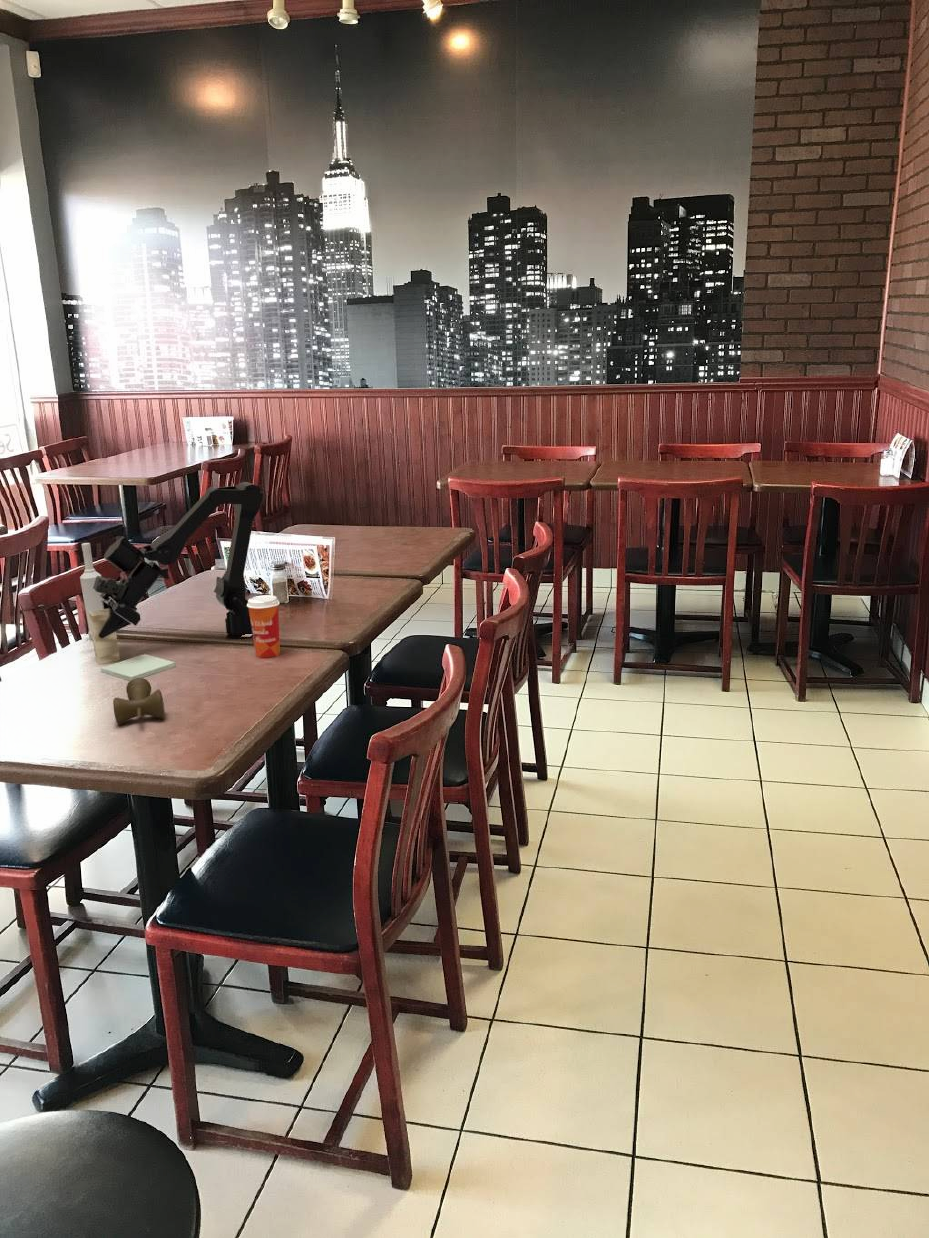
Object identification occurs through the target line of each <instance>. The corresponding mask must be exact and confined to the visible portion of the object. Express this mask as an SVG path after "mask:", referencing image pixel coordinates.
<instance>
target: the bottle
mask: <svg viewBox="0 0 929 1238" xmlns="http://www.w3.org/2000/svg"><path fill="white" fill-rule="evenodd" d="M91 547H92V546H91V543H90V542H83V543H81V549H82V555H83V563H84V568H85V569H84V572H83V573H82V574H81V576H79V579H80V586H81V590H82V596H83V598H82V599H83V602H84V609H85V615H86V622H87V627H88V637H89V640H91V641H93V637H92V630H91V624H90V617H89V612H90V611H96V610H102V609H103V605H102V600H103V601H104V602H105V599H103V598H102V597H101V596H100V595H101V594H102V593H99V592H96V591H95V589H93V586H94V583H95V580H96V577H97V576H100V577H102V574H101V573H99V572H98V571H96V569H95V568H94V563H93V554H92V548H91Z"/></svg>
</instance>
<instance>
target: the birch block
mask: <svg viewBox="0 0 929 1238" xmlns="http://www.w3.org/2000/svg"><path fill="white" fill-rule="evenodd" d="M89 617H90V624H91V630H92V637H93V640H92V642H93V648H94V649H93V650H94V656H95V660H96V662H97V663H98V665H101V664H103V665H104V664H109V663H114V662H120V661H121V658H120V649H119V643H118V637H117V631H115V632H113V633H112V634H110V635H108V636H106V637H104V638H100V637H99V636H98V635H99V633H100V632H101V630H102V628H103V626H104V625H105V623H106V621H107V619H108V618H109V610H108V609H102V610H96V611H90V612H89Z"/></svg>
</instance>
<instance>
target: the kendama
mask: <svg viewBox="0 0 929 1238" xmlns="http://www.w3.org/2000/svg"><path fill="white" fill-rule="evenodd" d="M125 689H126V691H125V693H126V695H127V698H128V699H125V698H120V697H114V698H113V703H112V704H113V705H112V706H113V714H114V719H115V722H116V724H117V725H118V726H121V725H123V724H125V723H126V722H128V721H130V720H131V719H133V718H137V719H141V718H142V716H150V717H155V718H156V719H160V720H164V719H165V714H166V713H165V712H166V711H165V705H164V704H165V703H164V698H163V694H162V691H161V690H160V689H157V690H155V691H153V692H152V685H151V682H149V680H148V679H146V678H145V677H143V678H135V679H132V680H131V681H128V682H127V685H126V687H125Z"/></svg>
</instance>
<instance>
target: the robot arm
mask: <svg viewBox="0 0 929 1238" xmlns="http://www.w3.org/2000/svg"><path fill="white" fill-rule="evenodd" d="M264 496H265V495H264V491H263V490H262V488H261V487H260V486H258V485H257V484H254V483H250V482H248V481H244V482H243V481H242V482H240V483H238V484H237V485H231V486H229V485H228V486H220V487H215V486H214V487H213V486H210V487H209V488H208V489H206V490H205V492H204V494H203V495H202V496H201V497H200V498H199V500H197V501H196V503H195V504H194V505H193V506H192V507H191V508H190V509H189V510H188V511H187V512H186V513H185V515H184V516H183V517H182V518H181V519H180V520H179V521H178V522H177V524H175V525H174V526H173V527H172V528H171V529H169V530H167V531H165V532H164V533H161V535H160V536H158V537H157V538H155V539H154V540H153V541H152V542H150V544H148V545H147V544H146V545H144V546H140V547H137V546H136V545H134V544H132V543H131V542H130V541H129V540H128V539H127V538H126V537H124V536H120V538H119V539H117V540H116V541H115V542H114V543H112V544H111V545H110V546H109V547H108V548H107V550H106V551H105V553H104V556H103V558H104V559H105V560H106V561H107V562H109V563H110V564H112V565H113V567H114V566H115V567H116V568H117V569H118V570H119V571H121V572H123V573H125V572H127V571H128V572H131V573H130V574H129V575H128V577H127V578H126V577H124V578H122V579H121V580H120V581H117V580H116V579H114V578H110V577H107V578H106V577H104V576H101V577H100V576H97V577H96V580H95V583H94V586H93V589H95V591H96V592H99V593H102V594H101V595H100V596H101V597H102V598H103V599H104V601H103V600H102V605H103V609H108V610H109V618H108V619H107V621H106V623H105V625H104V626H103V628H102V630H101V632H100V633H99V635H98V636H99V637H100V638H104V637H106V636H108V635H110V634H112V633H113V632H115V631H116V632H117V631H119V630H121V629H123V628H125V627H127V626H130V625H134V626H137V625H138V623H139V622H140V621H141V619H142V618H141V614H140V612H138V611H137V610H138V607H137V606H138V605H139V604H140V602H141V601H142V600H143V599H146V598H148V596H149V594H148V592H149V590H151V588H152V587H153V586H154V585H155V583H156V582H157V581H158V580H159V578H160V577H162V578H164V579H165V580H167V581H168V580H169V579H170V577H169V568H168V567H166V566H170V565H173V564H174V563H175V562H177V560H178V559H179V558H180V556H181V554H182V552H183V551H184V549H185V547H186V544H187V542H188V541H189V539H190V538H191V536H192V535H193V534H194V533H195V532H196V531H197V530H198V529H199V528H200V527H201V525H203V524H204V522H205V521H206V520H207V519H208V518H209V516H211V514H213V512H215V510H216V509H217V508H218V507H219V506H220V505H233V509H234V510H233V511H234V516H235V518H234V525H233V530H232V534H231V540H230V541H231V542H230V547H229V552H228V553H229V554H228V557H227V563H226V569H225V572H224V574H223V576H222V577H220V576H216V580H215V583H216V584H215V588H214V589H213V593H215V597H216V600H217V602H218V603H219V604H221V605H222V606H224V607H225V610H226V611H228V612H226V617H225V619H224V622H225V630H226V637H225V638H226V639H237V638H236V637H241V636H242V635H245V634H253V633H252V627H251V621H250V614H249V608H248V607H247V604H248V600H249V599H246V583H245V570H246V564H247V558H248V552H249V546H250V542H251V541H250V540H251V535H252V529H253V524H254V520H255V518H256V517H257V516H258V513H259V512H260V509H261V507H262V504H263V501H264ZM142 557H144V558H145V559H147V560H148V561H149V562H147V561H146V560H144V559H143V558H142ZM156 562H157V563H159V564H161V565H164V567H161V566H160V565H159V564H157V563H156Z"/></svg>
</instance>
